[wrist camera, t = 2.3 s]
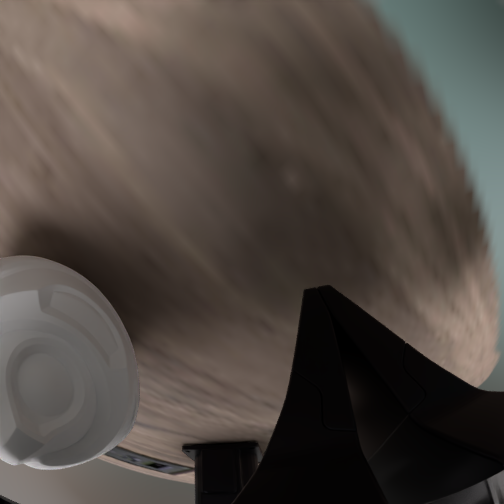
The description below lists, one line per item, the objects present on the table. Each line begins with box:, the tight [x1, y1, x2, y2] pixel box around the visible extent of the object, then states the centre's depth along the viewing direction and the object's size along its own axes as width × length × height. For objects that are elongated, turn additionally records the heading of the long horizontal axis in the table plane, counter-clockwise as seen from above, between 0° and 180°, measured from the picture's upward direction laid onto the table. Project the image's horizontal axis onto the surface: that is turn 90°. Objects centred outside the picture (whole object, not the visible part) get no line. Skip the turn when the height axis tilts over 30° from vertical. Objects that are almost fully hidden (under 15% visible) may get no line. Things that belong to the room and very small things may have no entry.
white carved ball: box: [0, 255, 140, 470], centre depth 7 cm, size 8×8×8 cm
